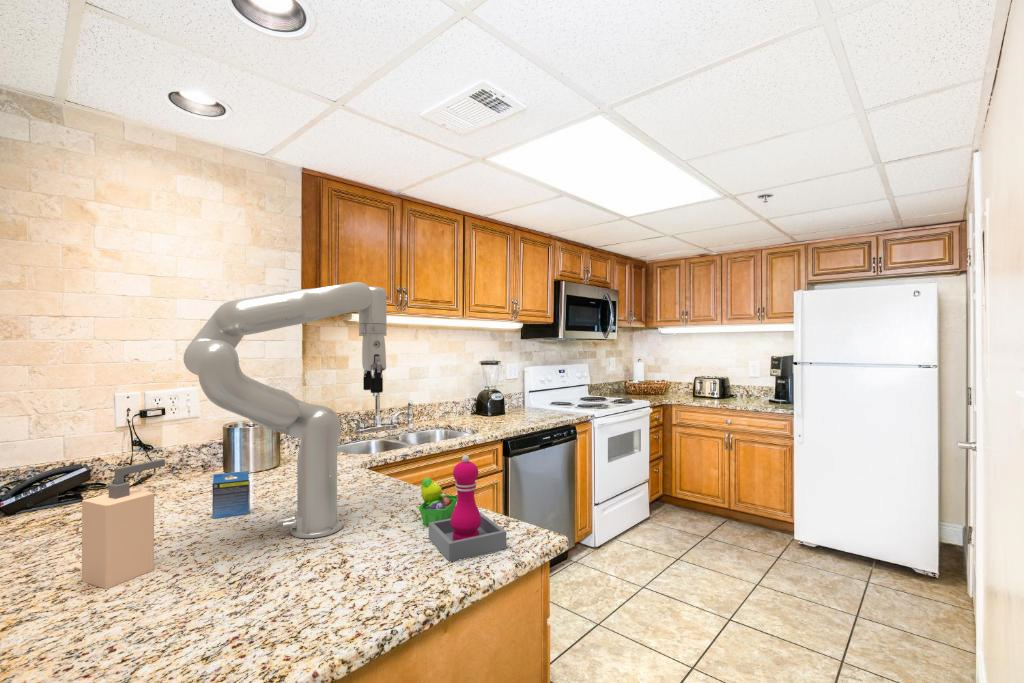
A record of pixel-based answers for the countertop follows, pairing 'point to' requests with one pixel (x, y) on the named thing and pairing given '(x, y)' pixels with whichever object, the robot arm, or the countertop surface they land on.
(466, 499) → the pepper mill
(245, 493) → the label tape box
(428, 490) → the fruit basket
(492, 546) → the tray
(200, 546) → the countertop surface
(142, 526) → the soap dispenser
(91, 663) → the countertop surface
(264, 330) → the robot arm
